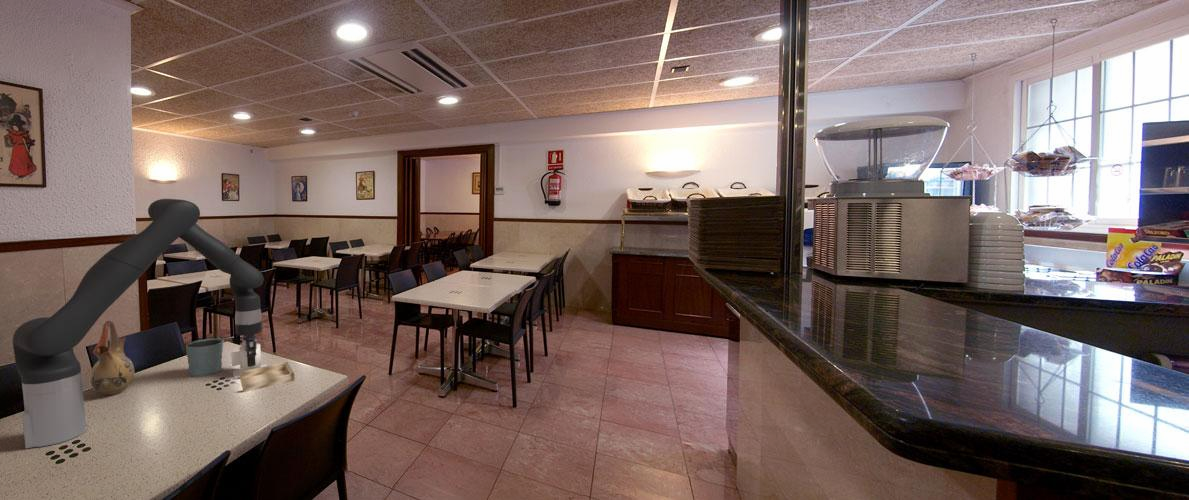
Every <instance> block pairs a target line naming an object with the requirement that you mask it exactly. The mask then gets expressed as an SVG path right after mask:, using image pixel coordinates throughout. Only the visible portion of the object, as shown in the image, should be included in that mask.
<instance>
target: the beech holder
mask: <svg viewBox="0 0 1189 500" xmlns="http://www.w3.org/2000/svg"><path fill="white" fill-rule="evenodd" d="M239 380H240V383H241V386H242V391H243V393H247V392H250V391H255V390H258V389H259V390H260V389H264V388H268V387H273V386H276V385H277V386H278V385H280V384H285V383H291V382H295V373H294V371H293V369H292V367H291V366H290V364H289V362H286V361H285V362H281V363H275V364H272V365H267V366H266V367H261V368H256V369H251V370H246V371H241V372H240V379H239Z"/></svg>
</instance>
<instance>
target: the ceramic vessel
mask: <svg viewBox="0 0 1189 500" xmlns="http://www.w3.org/2000/svg"><path fill="white" fill-rule="evenodd" d="M102 326H103V327H102V332H101V336H100V339H99V340H98V343H97V344H96V345H95V347H94V349H93V351H92V353H93V355H95V356H96V357H97V358H98V361H96V362H95V364H94V365H93V367H92V369H91V371H90V374H89V379H90V380H89V381H90V385H91V387H92V388H93V390H94V391H96V392H97V393H99V394H100V395H102V396H114V395H118V394H121V393H122V392H124V391H125V390H126V389H127V388H128V387H129V386H130V385H131V383H132V382H133V378H134V376H135V366H134V363H133V362H132V360H131V359H130V358H129V357H127V356H126V354H125V352H124V351H125V350H124V345H125V341H126V337H119V335H118V333H117V330H116V326H115V324H114V322H113V321H112V320H106V321H105V322H104V324H103V325H102ZM108 345H109V347H108Z"/></svg>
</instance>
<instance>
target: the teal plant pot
mask: <svg viewBox="0 0 1189 500" xmlns="http://www.w3.org/2000/svg"><path fill="white" fill-rule="evenodd" d="M223 349H224V339H222V338H207V339H198V340H194V341H191V342H189V343H187V344H185V350H186V357H187V364H188V373H189V376H190V377H191V378H192V377H193V378H194V377H203V376H208V375H212V374H216V373H219V372H221V371H222V366H223V362H222V359H223V355H222V354H223Z"/></svg>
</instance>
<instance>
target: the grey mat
mask: <svg viewBox="0 0 1189 500" xmlns="http://www.w3.org/2000/svg"><path fill="white" fill-rule="evenodd" d="M266 366H268V364H267V363H266V364H261V367H266ZM240 372H241V371H240V369H236V370H232V375H233V379H234V381H236V380H240Z"/></svg>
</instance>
